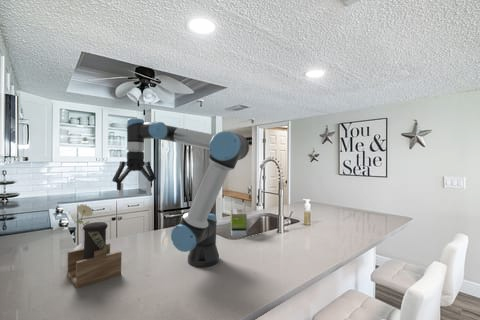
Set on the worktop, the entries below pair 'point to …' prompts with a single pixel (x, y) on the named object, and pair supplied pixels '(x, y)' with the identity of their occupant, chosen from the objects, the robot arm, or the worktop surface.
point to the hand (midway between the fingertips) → (135, 195)
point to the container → (94, 238)
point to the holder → (93, 266)
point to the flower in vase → (83, 211)
